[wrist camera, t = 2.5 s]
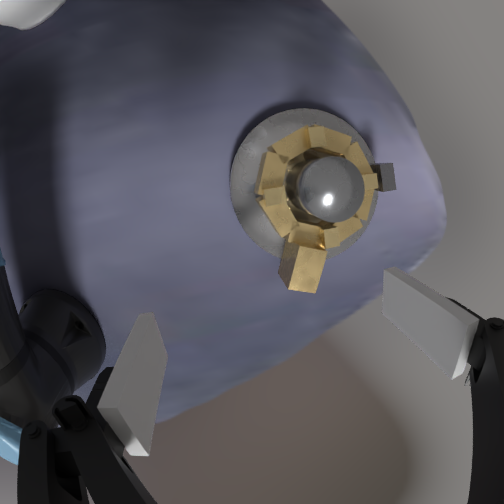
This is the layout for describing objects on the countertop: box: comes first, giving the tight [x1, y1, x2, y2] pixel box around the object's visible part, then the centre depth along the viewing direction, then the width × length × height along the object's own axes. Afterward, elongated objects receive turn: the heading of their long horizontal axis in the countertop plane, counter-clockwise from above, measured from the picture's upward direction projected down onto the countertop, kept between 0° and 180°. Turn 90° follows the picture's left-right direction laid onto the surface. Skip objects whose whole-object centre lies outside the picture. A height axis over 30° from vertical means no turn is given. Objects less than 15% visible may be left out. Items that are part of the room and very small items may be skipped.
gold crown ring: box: [254, 124, 378, 293], centre depth 29 cm, size 17×12×5 cm
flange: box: [230, 108, 396, 260], centre depth 28 cm, size 18×18×9 cm
